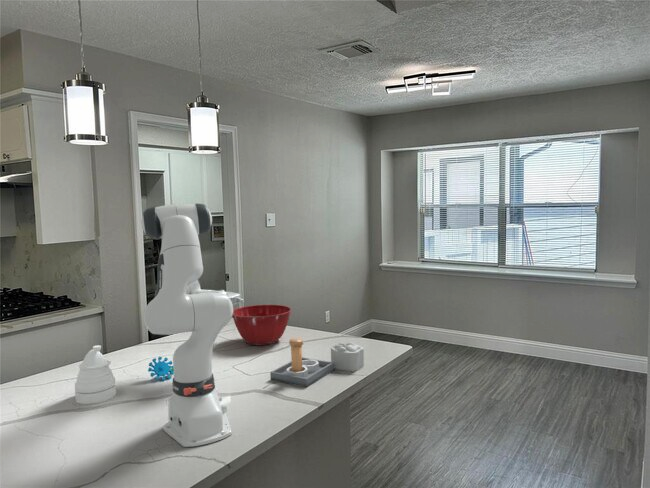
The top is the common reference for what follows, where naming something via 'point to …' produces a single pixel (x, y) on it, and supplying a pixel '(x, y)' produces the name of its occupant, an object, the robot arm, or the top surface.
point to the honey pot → (94, 379)
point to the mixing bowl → (261, 323)
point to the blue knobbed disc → (161, 368)
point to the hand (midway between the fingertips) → (234, 303)
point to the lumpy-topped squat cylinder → (347, 356)
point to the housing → (303, 372)
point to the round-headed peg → (296, 354)
